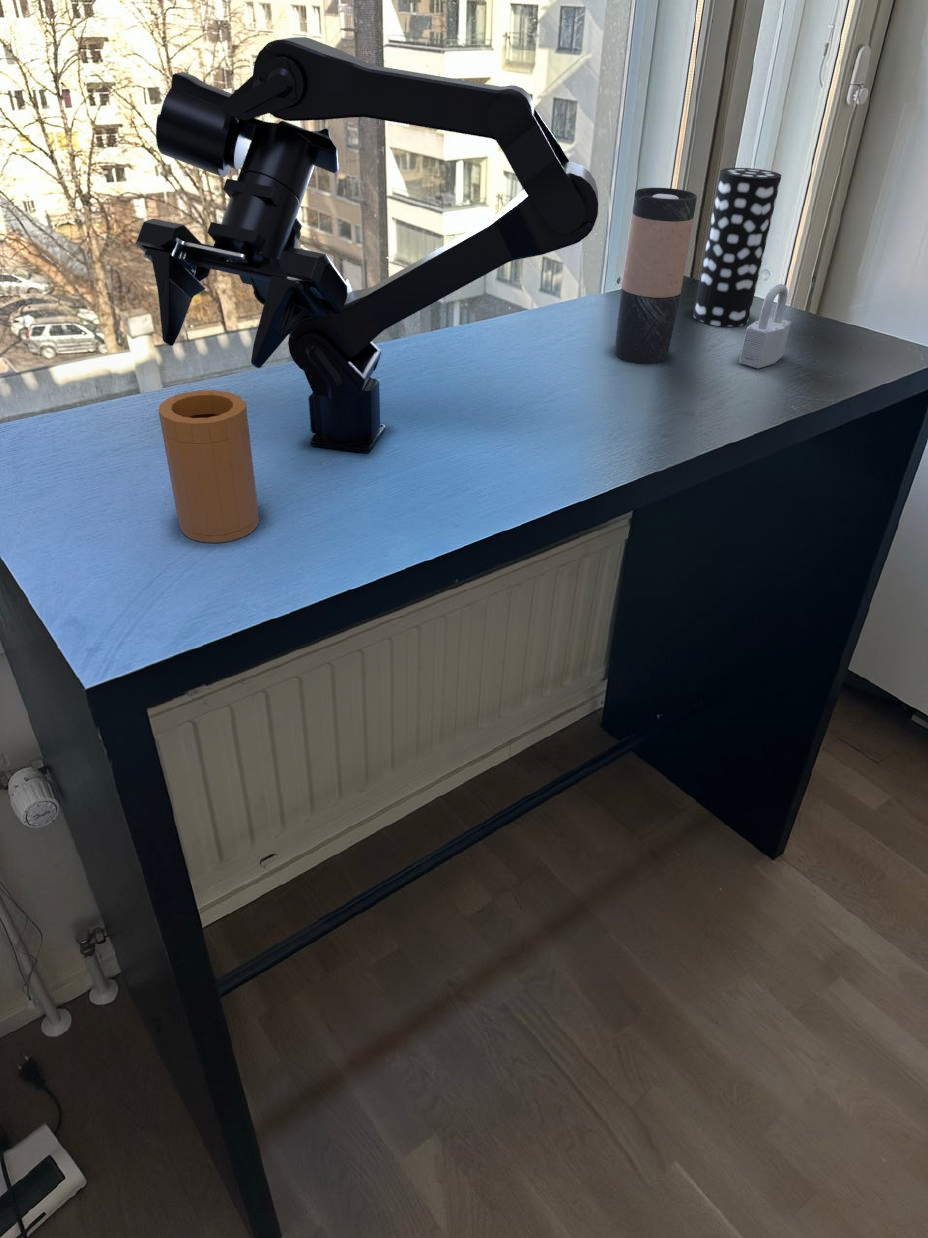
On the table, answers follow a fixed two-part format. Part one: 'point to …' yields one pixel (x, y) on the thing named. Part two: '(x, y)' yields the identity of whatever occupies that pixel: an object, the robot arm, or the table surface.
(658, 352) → the travel mug
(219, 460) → the jar
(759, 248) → the white-spotted black cylinder
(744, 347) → the padlock
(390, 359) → the table surface
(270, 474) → the table surface
